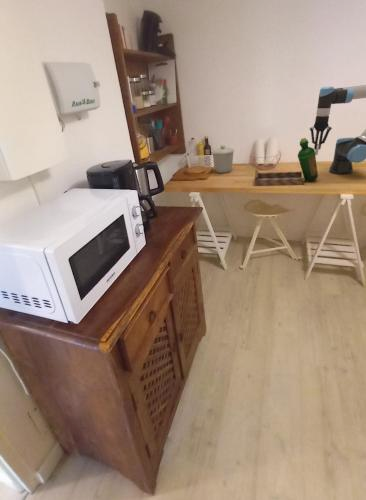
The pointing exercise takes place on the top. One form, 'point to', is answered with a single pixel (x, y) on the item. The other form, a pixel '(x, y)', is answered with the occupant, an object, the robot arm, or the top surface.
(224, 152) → the canister
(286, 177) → the u rest
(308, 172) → the bottle
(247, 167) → the top surface
